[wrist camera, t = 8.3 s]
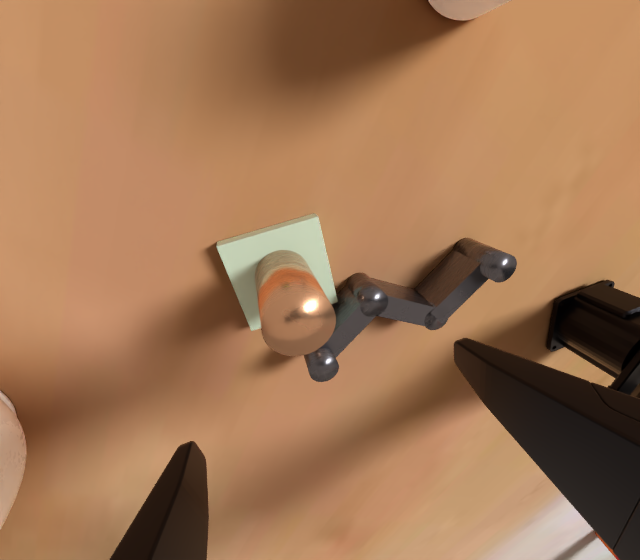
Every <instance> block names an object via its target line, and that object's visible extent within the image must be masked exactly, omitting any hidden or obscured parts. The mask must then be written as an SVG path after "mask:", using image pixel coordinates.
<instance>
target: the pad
mask: <svg viewBox="0 0 640 560" xmlns="http://www.w3.org/2000/svg"><path fill="white" fill-rule="evenodd" d="M216 247H217V249H218V252H219V254H220V257H221V259H222V261H223V264H224V266H225V269H226V271H227V273H228V276H229V278H230V281H231V283H232V285H233V288H234V290H235V293H236V295H237V298H238V300H239V302H240V305H241V307H242V310H243V312H244V314H245V317H246V319H247V322H248V324H249V326H250V329H251V331H253V330H256V329H259V328H261V322H260V314H259V307H258V299H257V291H256V283H255V271H256V268H257V265H258V264H259V262H260V261H261V260H262V259H263V258H264V257H265V256H266V255H268V254H269V253H271V252H274V251H278V250H290V251H293V252H296V253H298V254H299V255H301V256H302V257H303V258H304V259H305V261H306V262H307V264H308V266H309V267H310V269H311V271H312V272H313V274H314V276H315V278H316V279H317V281H318V283H319V284H320V286H321V288H322V290H323V291H324V293H325V295H326V296H327V298H328V300H329V301H330V303H331V304H333V303H336V302H338V300H337V296H336V291H335V287H334V283H333V278H332V274H331V270H330V265H329V261H328V257H327V252H326V248H325V244H324V240H323V235H322V231H321V227H320V222H319V218H318V216H317V215H316V214H315V213H313V214H310V215H307V216H303V217H300V218H296V219H293V220H290V221H286V222H283V223H279V224H276V225H273V226H269V227H266V228H262V229H259V230H256V231H252V232H249V233H245V234H242V235H239V236H235V237H232V238H228V239H225V240H221V241H218V242H217V246H216Z"/></svg>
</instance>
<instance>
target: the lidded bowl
mask: <svg viewBox="0 0 640 560" xmlns="http://www.w3.org/2000/svg"><path fill="white" fill-rule="evenodd" d="M26 457H27V452H26V439H25V435H24V432H23V428H22V426H21V424H20V422H19V420H18V418H17V413H16V410H15V407H14V405H13V404H12V402H11V401H10V399H9V398H8V397H7V396H6V395H5V394H4V393H3V392H1V391H0V529H1V528H2V526H3V524H4V522H5V521H6V518H7V516H8V514H9V512H10V510H11V508H12V506H13V503H14V501H15V499H16V496H17V493H18V491H19V488H20V485H21V482H22V479H23V475H24V471H25V464H26Z"/></svg>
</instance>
